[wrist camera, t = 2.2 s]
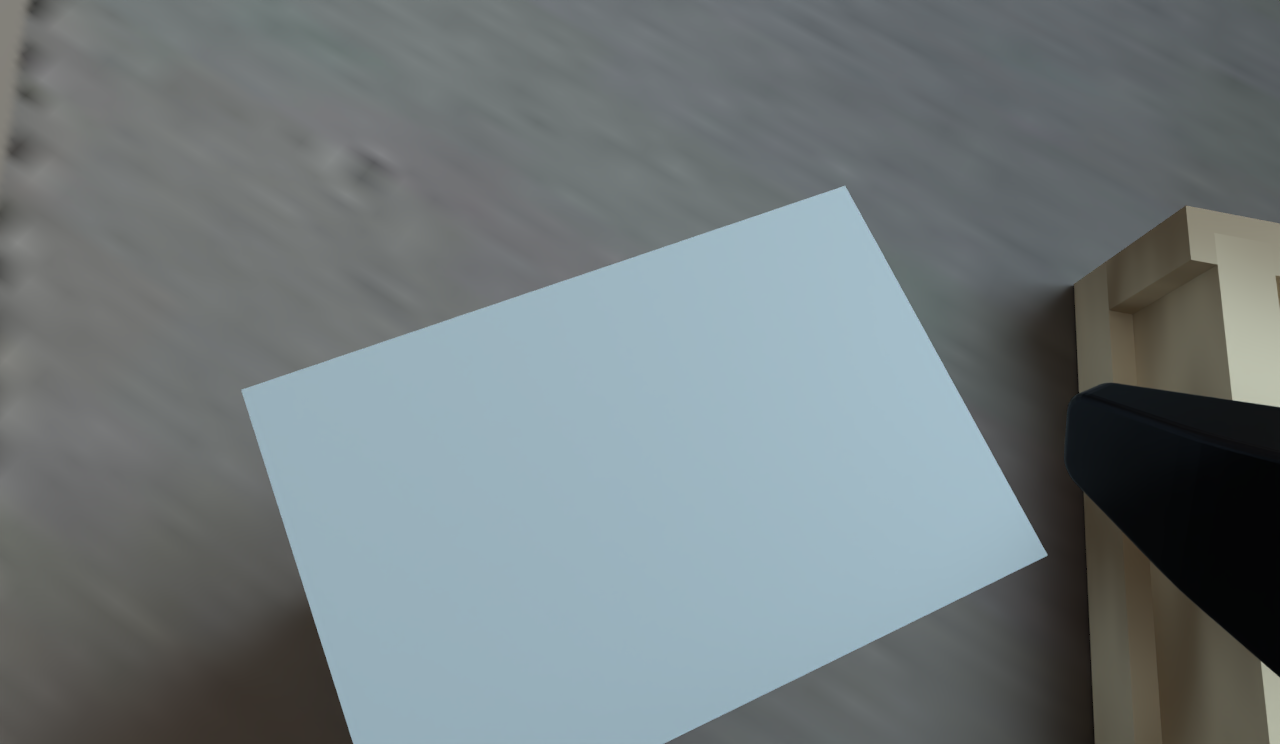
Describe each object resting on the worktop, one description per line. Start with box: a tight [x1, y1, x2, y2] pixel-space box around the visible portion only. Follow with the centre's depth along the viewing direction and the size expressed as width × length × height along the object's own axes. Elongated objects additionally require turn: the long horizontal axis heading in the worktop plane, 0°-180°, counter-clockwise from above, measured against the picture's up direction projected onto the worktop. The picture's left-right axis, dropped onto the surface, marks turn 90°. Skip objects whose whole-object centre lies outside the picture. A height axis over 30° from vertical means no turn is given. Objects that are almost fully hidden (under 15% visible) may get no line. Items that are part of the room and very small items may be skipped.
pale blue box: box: [242, 186, 1048, 744], centre depth 12 cm, size 4×6×10 cm, turn 113°
